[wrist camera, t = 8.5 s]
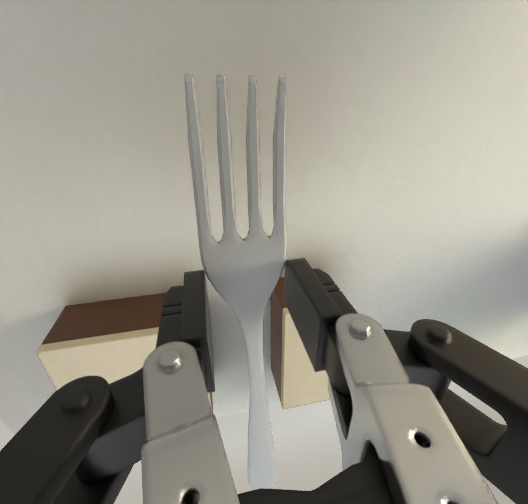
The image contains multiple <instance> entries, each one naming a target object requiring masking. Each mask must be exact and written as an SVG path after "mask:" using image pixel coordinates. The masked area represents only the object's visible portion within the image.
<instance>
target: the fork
mask: <svg viewBox="0 0 528 504" xmlns="http://www.w3.org/2000/svg"><path fill="white" fill-rule="evenodd" d="M184 76H185V92H186V108H187V124H188V140H189V150H190V159H191V168H192V178H193V187H194V196H195V206H196V215H197V226H198V237H199V248H200V254H201V261H202V264H203V268H204V271H205V274H206V276H207V278H208V279H209V281H210V282H211V284H212V286H213V287H214V288H215V290H216V291H217V292H218V293H219V294H220V295H221V296H222V297H223V298H224V300H225V301H226V302H227V303H228V304H229V305H230V306H231V308H232V309H233V311H234V312H235V314H236V315H237V317H238V319H239V322H240V324H241V326H242V329H243V333H244V337H245V341H246V347H247V353H248V362H249V376H250V407H249V425H248V482H249V484H250V486H251V488H252V489H253V490H257V489H260V488H264V489H271V488H272V487H273V486H274V484H275V483H276V481H277V477H278V468H277V461H276V455H275V449H274V442H273V435H272V427H271V422H270V417H269V412H268V405H267V399H266V391H265V378H264V361H263V319H264V313H265V309H266V306H267V303H268V300H269V298H270V296H271V294H272V292H273V290H274V288H275V286H276V284H277V282H278V280H279V278H280V276H281V273H282V270H283V267H284V265H285V258H286V251H287V233H286V210H285V186H286V77H279V78H278V89H277V100H276V112H275V123H274V134H273V217H274V228H273V232H272V235H270V236H267V235H266V233H265V232H264V231H263V224H262V212H261V183H260V139H259V119H258V100H257V80H256V76H249V84H248V107H247V130H246V152H247V185H248V214H249V231H248V235H247V237H246V238H245V239H242V238H241V237H240V235H239V234H238V231H237V220H236V209H235V194H234V177H233V161H232V145H231V133H230V123H229V113H228V104H227V94H226V84H225V75H217V143H218V157H219V171H220V185H221V199H222V213H223V227H224V233H223V236H222V239H221V241H219V242H216V241H215V240H214V238H213V236H212V233H211V222H210V211H209V200H208V190H207V179H206V168H205V158H204V147H203V138H202V132H201V125H200V119H199V113H198V107H197V100H196V94H195V88H194V81H193V75H184Z"/></svg>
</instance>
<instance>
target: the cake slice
mask: <svg viewBox="0 0 528 504" xmlns="http://www.w3.org/2000/svg"><path fill="white" fill-rule="evenodd" d="M271 369H272V373H273V376H274V380H275V384H276V387H277V391H278V394H279V398H280V401H281V405H282V409H288V408H293V407H298V406H302V405H307V404H312V403H316V402H321V401H326V400H330V396H329V392H328V378H329V377H328V375H327V373H326V371H325V370H324V371H318V372H315V371H314V368H313V366H312V364H311V362H310V359H309V357H308V355H307V352H306V350H305V348H304V345H303V343H302V341H301V339H300V336H299V334H298V332H297V329H296V327H295V325H294V322H293V320H292V318H291V316H290V313H289V311H288V309H287V306H286V302H285V297H284V278H279V280H278V282H277V284H276V286H275V288H274V290H273V292H272V294H271Z"/></svg>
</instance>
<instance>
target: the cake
mask: <svg viewBox="0 0 528 504" xmlns="http://www.w3.org/2000/svg"><path fill="white" fill-rule="evenodd" d="M165 295H166V293H163V294H155V295H148V296H140V297H132V298H125V299H117V300H109V301H102V302H94V303H86V304H78V305H71V306H66V307H65V308H64V310H63V311H62V313H61V315H60V316H59V318H58V319H57V321H56V322H55V324H54V326H53V327H52V329H51V330H50V332H49V333H48V335H47V336H46V338H45V340H44V341H43V343H42V345H41V346H40V348H39V349H38V351H37V355H38V357H39V359H40V361H41V362H42V364H43V366H44V368H45V370H46V371H47V373H48V375H49V377H50V379H51V380H52V382H53V384H54V386H55V388H56V389H57V390H58V389H60V388H61V387H62V386H64V385H65V384H67V383H69V382H71V381H73V380H75V379H77V378H81V377H84V376H92V375H93V376H100V377H102V378H104V379H105V380H106V381H107V382H108V384H110V383H113V382H115V381H117V380H119V379H122V378H124V377H126V376H129V375H131V374H133V373H135V372H136V371H138V370H139V369H141V368H142V367H143V364H144V361H145V359H146V358H147V356H148V355H149V354H150V353H151V352H152V351H153V350H154V349H155V348H156V342H157V336H158V330H159V324H160V318H161V312H162V308H163V300H164V296H165ZM208 398H209V401H210V405H211V409H212V412H213V402H212V392H208Z"/></svg>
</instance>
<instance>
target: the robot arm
mask: <svg viewBox="0 0 528 504" xmlns="http://www.w3.org/2000/svg"><path fill="white" fill-rule="evenodd" d="M284 297H285V302H286V306H287V309H288V311H289V313H290V316H291V318H292V320H293V322H294V325H295V327H296V329H297V332H298V334H299V336H300V339H301V341H302V343H303V345H304V348H305V350H306V352H307V355H308V357H309V359H310V362H311V364H312V366H313V368H314V371H315V372H318V371H324V370H325V371H326V373H327V375H328V377H329V378H328V392H329V396H330V400H331V404H332V409H333V413H334V417H335V422H336V426H337V430H338V434H339V439H340V443H341V449H342V462H343V463H342V464H343V471H342V472H341V473H339V474H338V475H336V476H335V477H333V478H332V479H330V480H329V481H327V482H326V483H324V484H323V485H321V486H320V487H319V488H317V489H315V490H312V491H297V490H281V489H264V488H260V489H257V490H253V491H249V492H245V493H241V494H237V492H236V489H235V486H234V482H233V478H232V474H231V471H230V467H229V463H228V460H227V456H226V453H225V450H224V446H223V442H222V438H221V435H220V431H219V427H218V424H217V420H216V417H215V415H214V414H213V412H212V409H211V405H210V401H209V398H208V392H214V391H215V384H214V368H213V352H212V337H211V321H210V309H209V301H208V294H207V286H206V279H205V272H204V270H199V271H191V272H185V273H184V286H176V287H171V288H170V289H169V291H168V292H167V293H166V295H165V296H164V300H163V308H162V312H161V318H160V324H159V330H158V336H157V342H156V348H155V349H154V350H153V351H152V352H151V353H150V354H149V355H148V356H147V358H146V359H145V361H144V364H143V367H142V368H141V369H139V370H138V371H136V372H135V373H133V374H131V375H129V376H126V377H124V378H122V379H119V380H117V381H115V382H113V383H110V384H108V382H107V381H106V380H105V379H104V378H102V377H100V376H93V375H92V376H84V377H81V378H77V379H75V380H73V381H71V382H69V383H67V384H65V385H64V386H62V387H61V388H60V389H58V390H57V391H56V392H55V393H54V394H53V395H52V396H51V397H50V398H49V399H48V400H47V401H46V402H45V403H44V404H43V405H42V407H41V408H40V409H39V410H38V411H37V412H36V413H35V414H34V415H33V416H32V417H31V418H30V420H29V421H28V422H27V423H26V424H25V425H24V426H23V427H22V428H21V429H20V430H19V431H18V433H17V434H16V435H15V436H14V437H13V438H12V439H11V440H10V441H9V442H8V443H7V445H6V446H5V447H4V448H3V449H2V450H1V451H0V504H113V503H114V502H115V500H116V498H117V496H118V494H119V492H120V490H121V488H122V486H123V485H124V483H125V481H126V479H127V477H128V475H129V473H130V471H131V469H132V467H133V465H134V464H135V463H137V462H138V461H140V460H142V486H143V487H142V488H143V504H498V502H497V500H496V499H495V497H494V495H493V494H492V492H491V490H490V488H489V487H488V485H487V483H486V482H485V480H484V478H483V477H482V475H483V476H484V477H485V478H486V479H487V480H489V481H490V482H491V483H492V484H493V485H495V486H496V487H497V488H498V489H499V490H500V491H502V492H503V493H504V494H505V495H506V496H508V497H509V498H510V499H511V500H513V502H515V503H516V504H528V368H526V367H524V366H522V365H521V364H519V363H517V362H515V361H513V360H511V359H510V358H508V357H506V356H504V355H502V354H500V353H499V352H497V351H495V350H493V349H491V348H489V347H488V346H486V345H484V344H482V343H480V342H479V341H477V340H475V339H473V338H471V337H469V336H468V335H466V334H464V333H462V332H460V331H458V330H457V329H455V328H453V327H451V326H449V325H447V324H445V323H443V322H440V321H436V320H430V319H422V320H418V321H416V322H415V323H413V325H412V327H411V331H410V332H405V331H394V330H385V329H383V328H382V327H381V325H380V324H379V323H378V322H377V321H375V320H374V319H372V318H370V317H368V316H366V315H362V314H358V313H357V312H356V310H355V309H354V308H353V307H352V305H351V304H350V303H349V301H348V300H347V299H346V297H345V296H344V295H343V293H342V292H341V291H340V290H339V288H338V287H337V285H336V284H335V283H334V281H333V280H332V279H331V277H330V276H329V275H328V274H326V273H325V272H323V271H322V270H320V269H312V268H311V267H310V265H309V264H308V262H307V261H306V259H305V258H301V259H293V260H286V262H285V278H284ZM451 380H452V381H453V382H454V383H456V384H457V385H459V386H461V387H462V388H463V389H465V390H466V391H468V392H469V393H471V394H472V395H474V396H475V397H477V398H478V399H480V400H481V401H482V402H484V403H485V404H487V405H488V406H490V407H491V408H493V409H494V410H496V411H497V412H498V413H499V414H500V415H501V416H502V417H503V418H504V420H505V421H506V424H507V425H501V424H499V423H496V422H495V421H493V420H492V419H490V418H489V417H488V416H486V415H485V414H483V413H482V412H481V411H479V410H478V409H476V408H475V407H473V406H472V405H471V404H469V403H468V402H466V401H465V400H464V399H462V398H461V397H459V396H458V395H456V394H455V393H454V392H452V391H451V390H449V389H448V387H449V384H450V382H451ZM481 474H482V475H481Z"/></svg>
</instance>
